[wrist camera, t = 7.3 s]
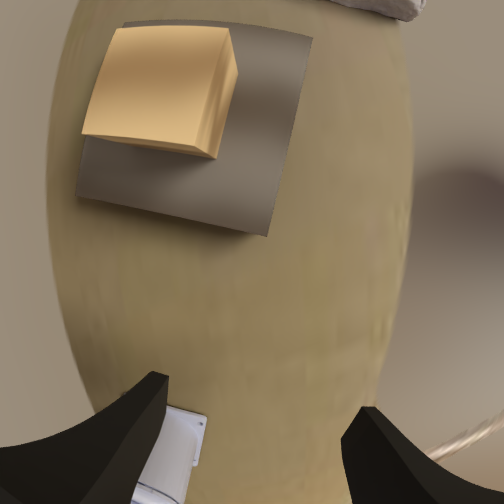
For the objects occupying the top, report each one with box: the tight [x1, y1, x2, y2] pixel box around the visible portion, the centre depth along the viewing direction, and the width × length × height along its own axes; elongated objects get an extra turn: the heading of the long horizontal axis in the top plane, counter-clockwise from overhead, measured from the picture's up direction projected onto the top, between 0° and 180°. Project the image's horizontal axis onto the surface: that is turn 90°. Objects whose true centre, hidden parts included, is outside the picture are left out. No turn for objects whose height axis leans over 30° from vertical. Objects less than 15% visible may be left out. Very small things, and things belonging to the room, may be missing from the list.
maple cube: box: [82, 26, 238, 159], centre depth 11 cm, size 5×5×5 cm
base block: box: [75, 20, 313, 237], centre depth 15 cm, size 12×12×3 cm
